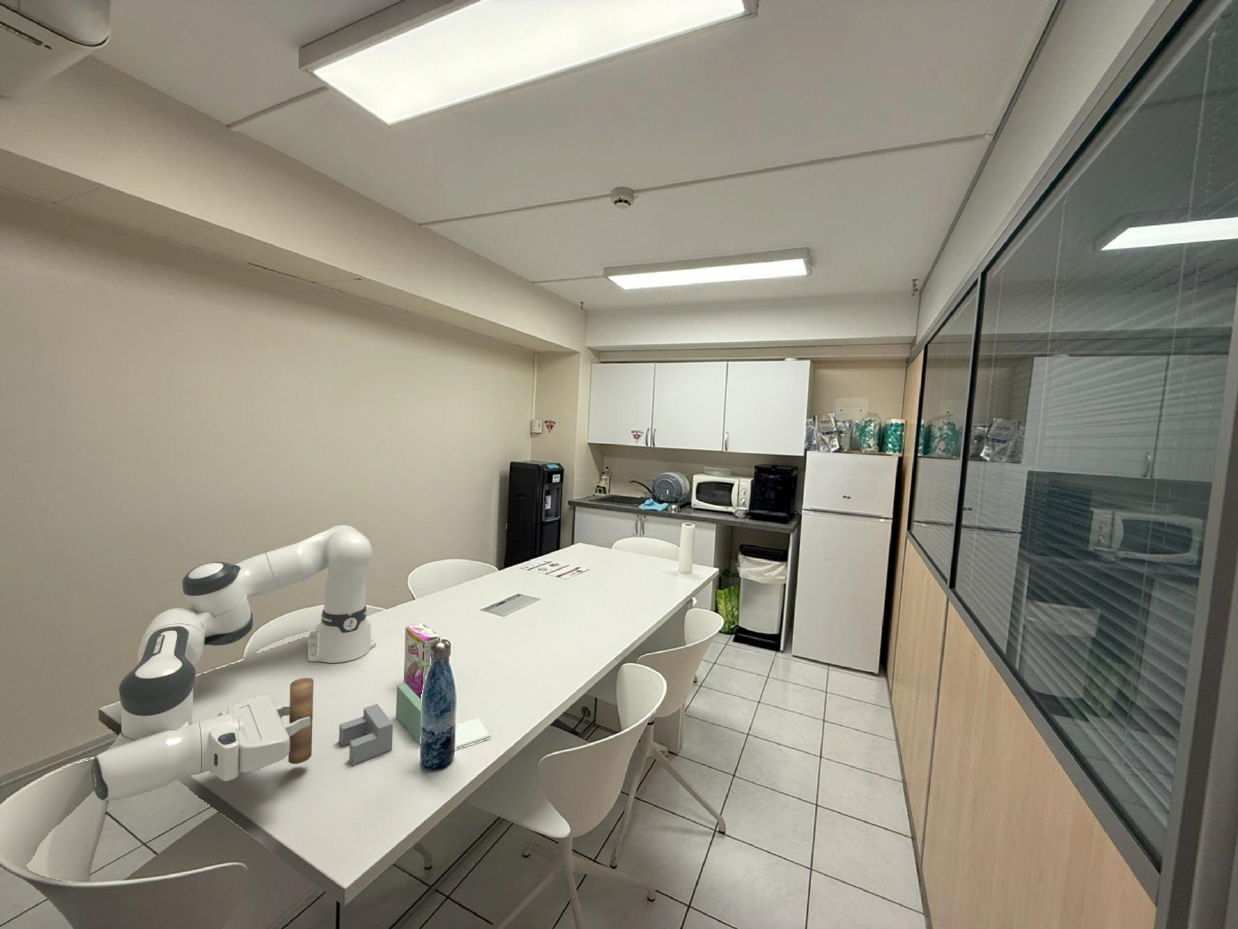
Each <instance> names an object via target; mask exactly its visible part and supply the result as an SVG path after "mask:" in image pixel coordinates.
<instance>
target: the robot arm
mask: <svg viewBox="0 0 1238 929" xmlns="http://www.w3.org/2000/svg"><path fill="white" fill-rule="evenodd" d="M372 558H373V548H372V544H371V542H370V539H368V537H366V535H364V534H363V533H361V532H360V531H359V530H357V528H355V527H353V526H351V525H347V524H346V525H345V524H340V525H334V526H332V527H331V528H329V529H327V530H324V531H322V532H320V533H317V534H314V535H313V536H310V537H308V538H306V539H304V540H301V541H298V542H296V543H293V544H290V545H286V546H283V547H281V548H276V549H273V550H270V551H267V552H263V553H261V554H257V555H255V556H252V557H249V558H247V559H244V560H241V561H239V562H237V563H235V564H232V563H228V562H223V561H213V562H207V563H204V564H201V565H199V566H197V567H195V568H192V569H191V570H190V571H189V572H188V573H187V574H186V575H184V577H183V578H182V593H183V594H184V595H185V598H186V602H187V606H188V607H174V608H170V609H167V610H165V611H162V612H161V613H159V614H158V615H157V616H155V618H154V619H152V621H151V622H150V624H149V625H148V626H147V628H146V630H145V632H144V634H143V636H142V638H141V640H140V643H139V647H138V650H137V665H136V666H135V667H134V668H133V669H132V670H131V671H129V672H128V673H127V674H126V675H125V676H124V678H122V680H121V682H120V684H119V686H118V692H119V699H120V706H121V707H120V708H121V709H120V710H121V712H120V713H121V716H120V717H121V727H120V728H121V732H119V734H118V736H117V738H116V739H115V741H114V742H113V744H112V745H111V746H110V747H109V748H108V749H107V750H105V751H103V752H101V753H98V754H97V755H96V756H94V757H93V760H92V764H91V779H92V783H93V784H92V786H93V789H94V792H95V796H96V797H97V798H98V799H100V800H101V801H103V802H110V801H117V800H121V799H122V800H123V799H127V798H131V797H134V796H138V795H141V794H142V795H143V794H145V793H147V792H150V791H151V792H152V791H154V790H157V789H160V788H163V787H165V786H168V785H170V784H172V783H174V782H175V781H177V780H179V779H182V778H184V777H189V776H197V775H200V774H203V773H207V772H208V773H210V774H212V775H214V776H215V777H217V778H219V779H220V780H221V781H223V782H229V781H231V780H234V779H236V778H237V777H238V776H239V773H250V772H254V771H257V770H260V769H262V768H265V767H268V766H270V765H271V766H272V765H273V764H275V763H278V762H280V761H282V760H284V759H285V758H286V757H288V755H289V752H290V738H289V736H292V735H293V734H295V733H296V732H297V731H299V730H300V729H302V728H305V727H308V726H309V725H310V720H311V719H310V717H309V716H308V715H305V716H301V717H299V720H297V721H295V722H293V723H291V724H290V723H289V722H287V723H283V722H284V721H282V718H283V717H285V716H286V717H287V716H289V714H290V704H280V705H275V703H274V701H273V698H272V696H271V695H270V694H266V693H265V694H260V695H257V696H253V697H250V698H246V699H244V700H242V701H238V702H236V703H234V704H231V705H230V706H228V708H227V709H224V710H222V711H221V712H220V713H218V714H217V715H215V716H214V717H209V718H205V719H203V720H199V721H196V722H194V723H193V713H194V712H193V711H194V709H193V708H194V686H195V680H196V666H197V665H198V663H199V661H200V660H201V658H202V655H203V652H204V648H205V646H212V647H213V646H217V647H219V646H227V645H230V644H233V643H236V642H237V641H240V640H242V639H243V638H244V637H246V636H247V635H248V634H249V632H251V630H252V629H253V625H254V617H253V616H254V615H253V612H251V607H250V603H249V599H248V598H253V597H257V596H261V595H264V594H269V593H271V592H274V591H275V592H276V591H278V590H281V589H284V588H286V587H290V586H293V585H296V584H299V583H302V582H304V581H306V580H309V579H311V578H312V577H314V576H315V575H317V574H318V573H320V572H322V571H324V570H325V569H327V568H328V570H327V576H326V581H325V584H324V595H323V596H324V598H323V599H324V601H323V610H322V613H321V619H320V622H318V624H317V625H316V626H315V630H313V631H310V632H309V636H310V637H309V639H308V640H307V644H306V645H307V646H306V647H307V661H308V662H322V663H327V664H328V663H329V664H330V663H331V664H334V663H345V662H350V661H353V660H356V659H359V658H361V657H363V656H365V655H366V654H368V652H369V651H370V650H371V649H372V648H374V647H375V646H376V645H377V641H375V640H373V638H372V625H371V624H372V623H371V621H370V620H369V619H367V613H368V612H367V610H368V608H367V606H366V589H367V588H366V585H367V578H368V574H369V567H370V563H371V560H372Z"/></svg>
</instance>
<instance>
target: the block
mask: <svg viewBox="0 0 1238 929" xmlns="http://www.w3.org/2000/svg"><path fill="white" fill-rule="evenodd" d="M393 728H394V723H393V722H392V720H391V719H390V718H389V716H387V714H386V713H385V712H384V710H383V709H382V708H381V706H380V705H379V704H378V703H376V704H372V705H369V706H366V707H364V708H363V716H360V717H357V718H355V719H351V720H349V721H346V722H342V723H340V724H339V733H338V734H339V735H338V742H339V744H340V746H341V747H346V746H348V745H349V753H348V755H349V761H350V762H351V764H352V765H356V764H359V763H361V762H364V761H366V760H368V759H371V758H374V757H376V756H378V755H381V754H384V753H386V752H389V751H391V750H392V749H393V735H394V734H393V733H394V732H393V730H394V729H393Z"/></svg>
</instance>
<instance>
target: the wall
mask: <svg viewBox="0 0 1238 929" xmlns="http://www.w3.org/2000/svg"><path fill="white" fill-rule="evenodd" d="M421 701H423V699H421V698H420V697H419V696H418V695H417V694H416V693H415V692H414V691H413V690H411V689H410V687H409V686H408V685H407V684H406V683H404V682H403V683H401V684H398V685H397V686H396V705H395V717H396V719H397V720H398V721H399V722H400V724H401V725H402V726H403V727H404V729H405V730H406V731H407V732H408V733H409V735H410V736H411V737H412V738H413V740H414V742H416V743H417V745H418V746H419V745H421V744H420V737H421Z"/></svg>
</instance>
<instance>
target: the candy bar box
mask: <svg viewBox="0 0 1238 929" xmlns="http://www.w3.org/2000/svg"><path fill="white" fill-rule="evenodd" d="M404 629H405V633H404V635H405V636H404V637H405V638H404V666H403V668H404V670H403V684H404V683H406V684H407V685H408V686H409V687H410V689H411V690H412V691H413V692H414V693H415V694H416V695H417V696H418V697H419V698H420V699H421V694H422V690H423V685H424V683H425V677H426V675H427V673H428V669H429V667H430V645H431V644H432V642H433V641H436V640H440V641H441V636H440V635H439V634H437V632H435V631H433V630H432V629H431V628H429V627H428V626H426V625H425V624H423V623H422V622H421V623H417V624H413V625H409V626H406V627H404Z"/></svg>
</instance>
